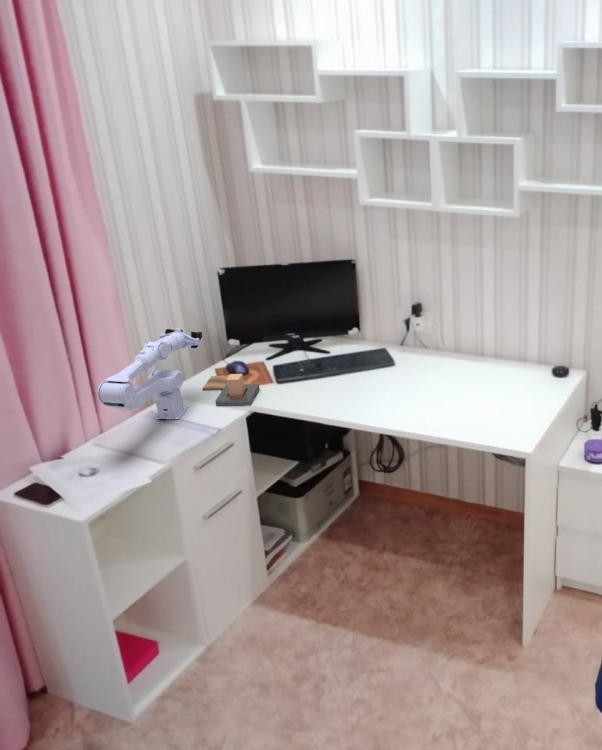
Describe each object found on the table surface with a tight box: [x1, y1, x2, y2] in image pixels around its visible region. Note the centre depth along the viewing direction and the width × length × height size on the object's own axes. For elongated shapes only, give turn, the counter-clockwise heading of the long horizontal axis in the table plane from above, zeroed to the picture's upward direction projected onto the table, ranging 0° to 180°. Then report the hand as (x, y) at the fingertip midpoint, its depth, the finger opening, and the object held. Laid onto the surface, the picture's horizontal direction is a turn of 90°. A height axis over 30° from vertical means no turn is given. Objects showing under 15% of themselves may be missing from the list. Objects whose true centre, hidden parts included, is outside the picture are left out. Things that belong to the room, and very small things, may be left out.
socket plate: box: [215, 383, 261, 407], centre depth 298 cm, size 12×12×2 cm
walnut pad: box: [202, 375, 229, 391], centre depth 311 cm, size 10×10×1 cm
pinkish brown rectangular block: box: [227, 373, 246, 397], centre depth 297 cm, size 4×4×8 cm
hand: (191, 333), depth 303 cm, fingers open, 7 cm apart
